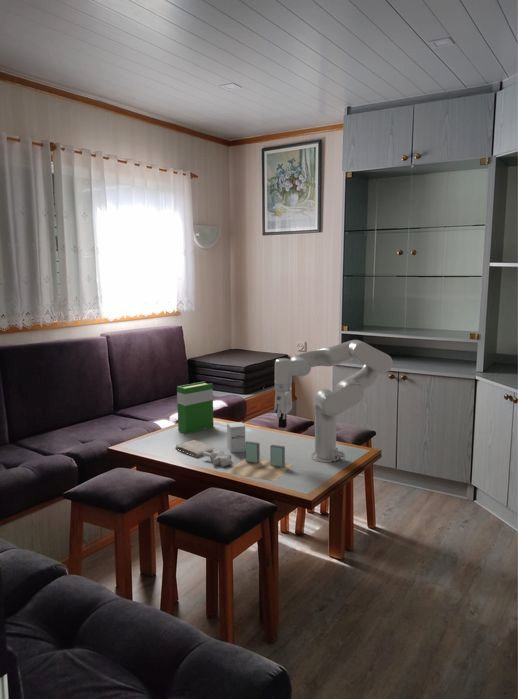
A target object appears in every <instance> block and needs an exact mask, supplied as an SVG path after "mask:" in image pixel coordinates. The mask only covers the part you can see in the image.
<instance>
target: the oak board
mask: <svg viewBox="0 0 518 699" xmlns="http://www.w3.org/2000/svg"><path fill="white" fill-rule="evenodd" d="M292 466H293V463H286V462H285V466H284V467H277V466H271V460H265V459H260V462H259V463H251V462H246V456H245V457H244V458H242V460H240V461H238V462H237V463H236V464H234V465H233V466H232V467H231V468H229V469H228V470H227V471H226V472H225V474H230V475H235V476H243V477H246V478H252V479H259V480H260V479H261V480H266V481H273V482H277V480H279V479H280V477H282V476H283V475H284V474H285V473H286V472H287V471H288V470H289V469H290V468H291V467H292Z"/></svg>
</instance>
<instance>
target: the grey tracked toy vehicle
mask: <svg viewBox="0 0 518 699" xmlns="http://www.w3.org/2000/svg"><path fill="white" fill-rule="evenodd" d="M177 449H179V450H181V451H184V452H186V453H188V454H191V455H193V456H196V457H195V458H201V457H204V456H203V455H202V454H203V452H208V453H212V452H213V451H212V450H213V449H216V448H215V447H213V446H210V445H209V444H207V443H204V442H200V441H198V440H196V439H195V440H194V439H192V440H190V441H186V442H181V443H179V444H176V445H175V450H177ZM179 450H178V451H179ZM181 451H180V452H181ZM186 453H185V454H186ZM188 454H187V455H188ZM191 455H190V456H191ZM193 456H192V457H193ZM200 456H201V457H200Z"/></svg>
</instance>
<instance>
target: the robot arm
mask: <svg viewBox="0 0 518 699" xmlns="http://www.w3.org/2000/svg"><path fill="white" fill-rule="evenodd" d="M354 360H355V361H357V362H359V363H361V364H363V367H362V368H361V369H360V370H359V371H357V372H356V373H354V374H351V375H350V376H347V377H346V378H344V379H342V380H340V381H339V382H337V384H336V388H335V392H333V391H332V390H330V389H328V388H322V389H320V390H318V391H317V392H316V393H315V395H314V399H313V408H314V452H313V453H311V459H312V460H313V461H316V462H319V461H320V463H332V462H331V461H334V462H336V460H337V461H338V460H340V458H345V457H346V453H345V452H344V451H343V450H342V451H340V450H339V447H337V416H338V415H340V414H342V413H344V412H346V411H348V410H350V409H351V408H354V407H355V406H357V405H359V404H360V403H361V401H362V400H363V399H364V397H365V390H367V389H368V388H370V387H372V386H373V385H374V384H375V383H376V382H377V380H378V379H379V376H380V373H383V374H384V373H387V372H389V371H390V370H391V369H392V368H393V365H394V362H393V359H392V356H390V355H389V354H387V353H386V352H383V351H382V350H379V349H378V348H375V347H373V346H372V345H370V344H368V343H366V342H364V341H362V340H359V339H352V340H348V341H346V342H341V343H338V344H335V345H332V346H329V347H325V348H324V347H323V348H320V349H315V350H314V349H313V350H309V351H306V352H303V353H300V354H296V355H294V356H292V357H291V358H290V359H289V358H283V357H281V358H277V359H275V360H274V386H273V387H274V389H273V390H274V391H275V394H274V413H275V414H276V417H277V418H278V426H277V427H278V428H280V429H286V428H287V424H288V423H287V421H288V420H287V419H288V413H290V411H292V409H293V398H292V397H293V396H292V394H293V393H292V391H293V390H292V389H293V388H292V386H293V385H292V382H293V381H292V380H293V376H296V377H306V376H308V375H309V374H310V372H311V370H312V368H313V367H335V366H338V365H341V364H344V363H348V362H350V361H354Z"/></svg>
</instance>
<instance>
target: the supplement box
mask: <svg viewBox="0 0 518 699" xmlns="http://www.w3.org/2000/svg"><path fill="white" fill-rule="evenodd" d="M226 432H227V433H226V437H227V438H226V443H227V445H226V446H227V449H228V451H229V452H230V453H241V452H246V446H245V442H246V426H245V424H244V423H243V422H242V421H240V422H230V423H229V422H228V423H227V422H226Z"/></svg>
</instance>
